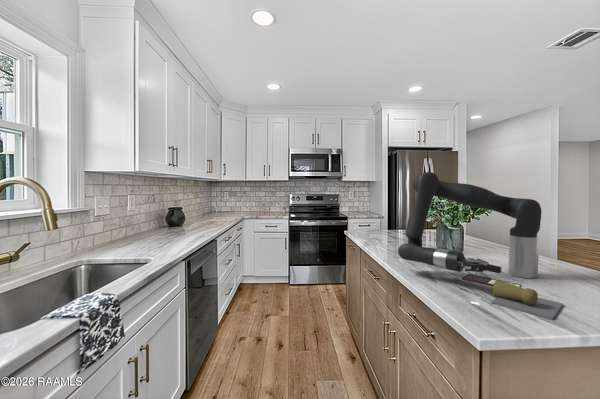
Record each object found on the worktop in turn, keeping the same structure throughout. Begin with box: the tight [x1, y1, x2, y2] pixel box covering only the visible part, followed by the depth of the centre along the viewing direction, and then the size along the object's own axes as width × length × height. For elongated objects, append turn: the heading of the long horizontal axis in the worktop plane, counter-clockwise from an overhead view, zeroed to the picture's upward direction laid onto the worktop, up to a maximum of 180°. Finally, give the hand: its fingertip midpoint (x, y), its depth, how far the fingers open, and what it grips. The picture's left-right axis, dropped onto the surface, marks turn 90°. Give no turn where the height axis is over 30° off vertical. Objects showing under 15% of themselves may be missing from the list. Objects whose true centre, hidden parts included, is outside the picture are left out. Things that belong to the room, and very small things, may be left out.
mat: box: [491, 297, 564, 321], centre depth 91 cm, size 15×16×1 cm
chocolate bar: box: [461, 273, 522, 288], centre depth 112 cm, size 9×1×18 cm
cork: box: [492, 279, 539, 305], centre depth 93 cm, size 6×6×11 cm
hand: (500, 270), depth 97 cm, fingers closed
